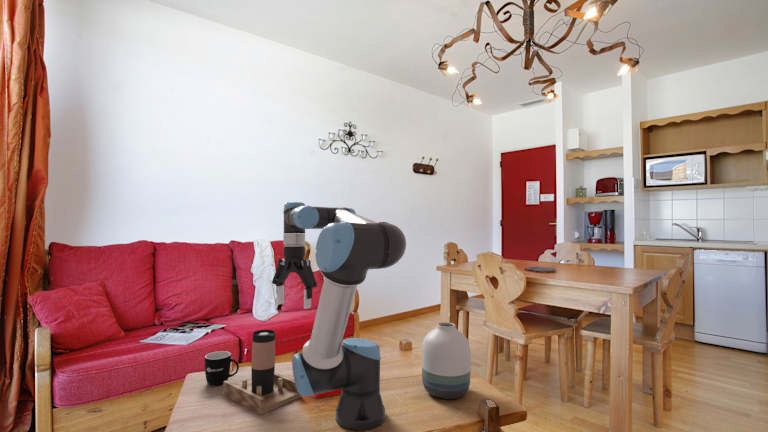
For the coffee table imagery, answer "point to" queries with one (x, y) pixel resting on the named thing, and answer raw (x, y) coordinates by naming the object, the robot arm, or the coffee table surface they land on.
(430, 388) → the vase
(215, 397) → the coffee table surface
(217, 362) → the mug
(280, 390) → the peg stand
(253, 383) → the travel mug
